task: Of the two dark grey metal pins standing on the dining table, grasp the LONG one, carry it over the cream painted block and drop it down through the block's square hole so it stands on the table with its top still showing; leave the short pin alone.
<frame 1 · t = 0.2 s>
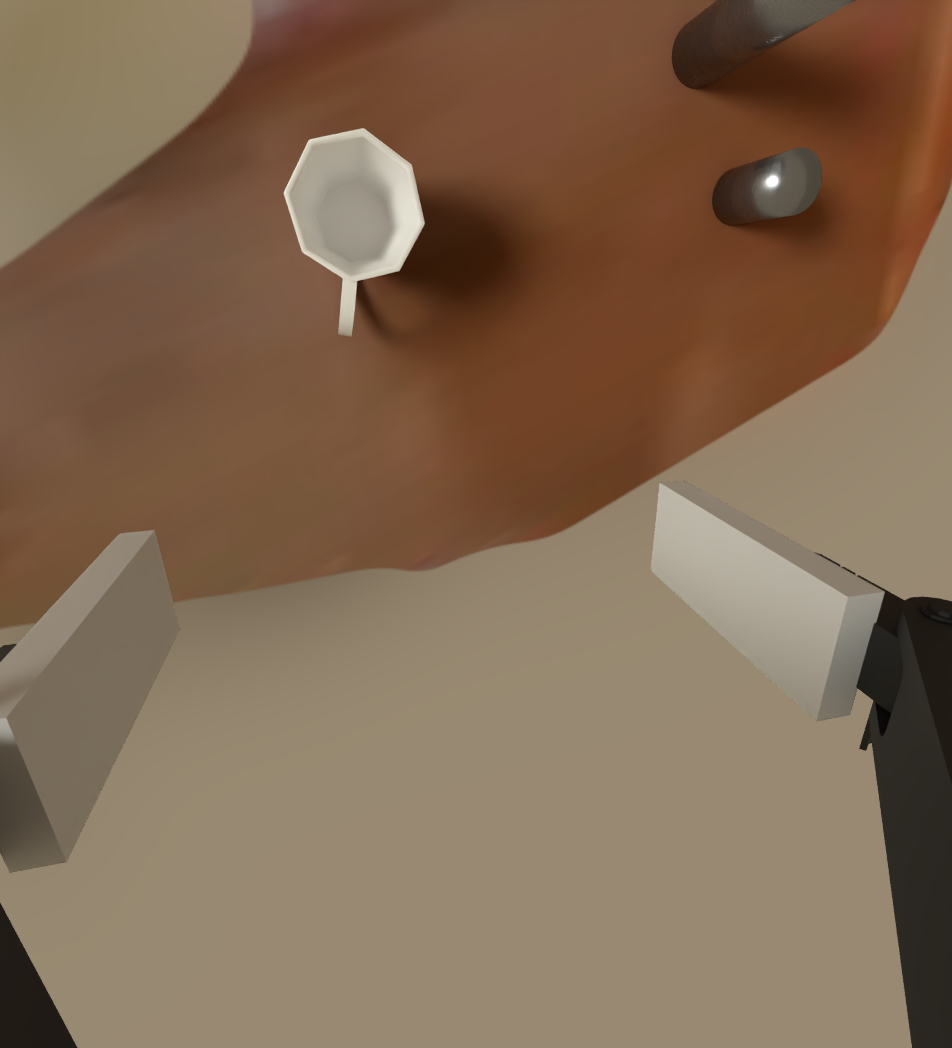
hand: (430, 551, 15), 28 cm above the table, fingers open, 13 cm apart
short pin: (735, 196, 41), on the table
long pin: (697, 54, 37), on the table
cup: (351, 250, 37), on the table
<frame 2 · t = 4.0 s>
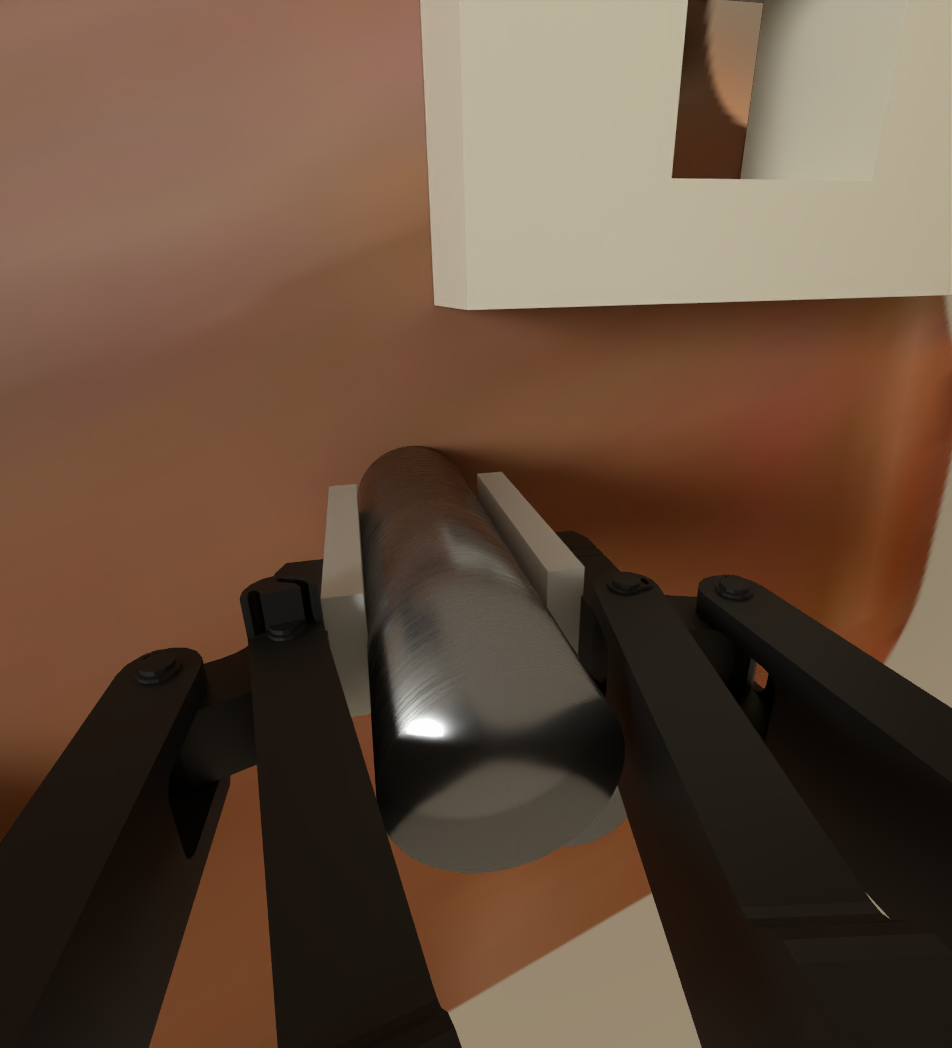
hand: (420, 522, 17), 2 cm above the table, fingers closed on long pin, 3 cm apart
short pin: (526, 680, 23), on the table
hole block: (670, 109, 16), on the table
long pin: (413, 499, 19), on the table, touching gripper
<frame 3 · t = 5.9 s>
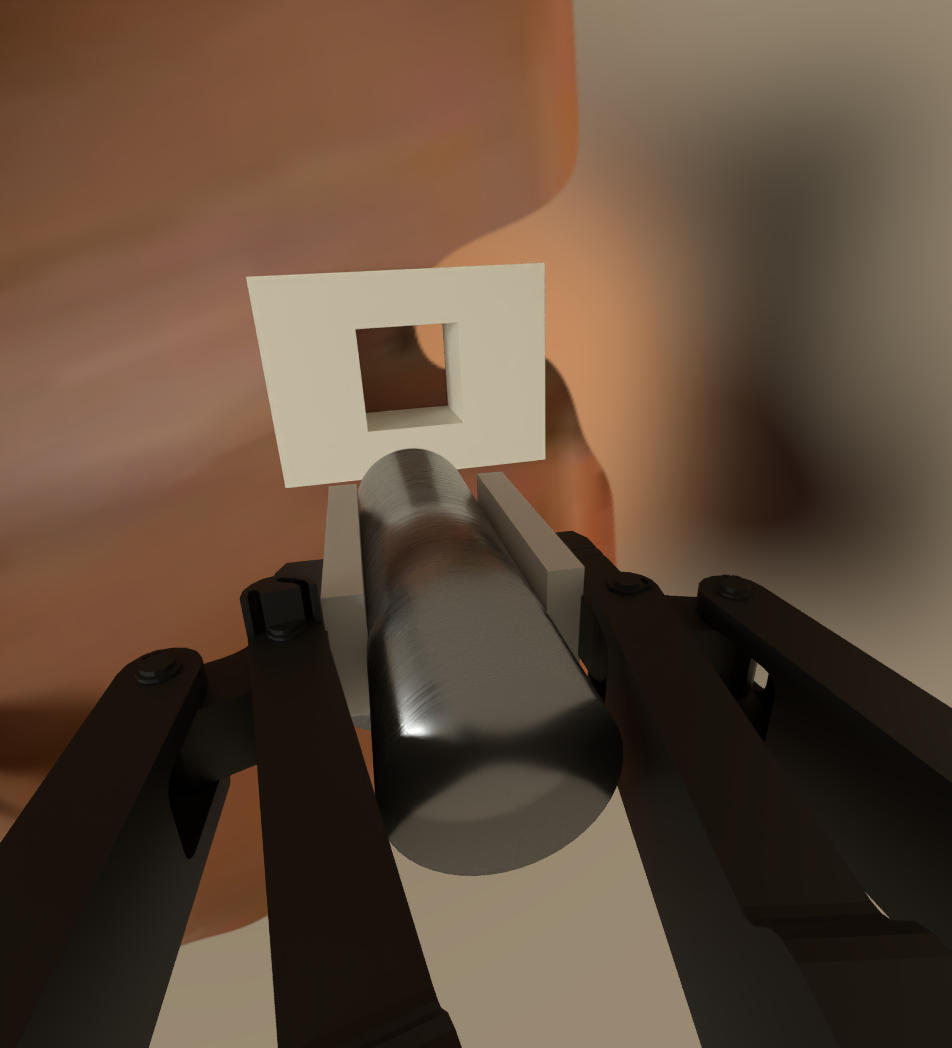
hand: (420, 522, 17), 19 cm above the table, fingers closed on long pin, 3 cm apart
hole block: (402, 366, 33), on the table
long pin: (412, 501, 19), point 17 cm above the table, touching gripper
when the fingers open (6 cm above the table, at t = 8.2 s): long pin drops 3 cm, resting in hole block.
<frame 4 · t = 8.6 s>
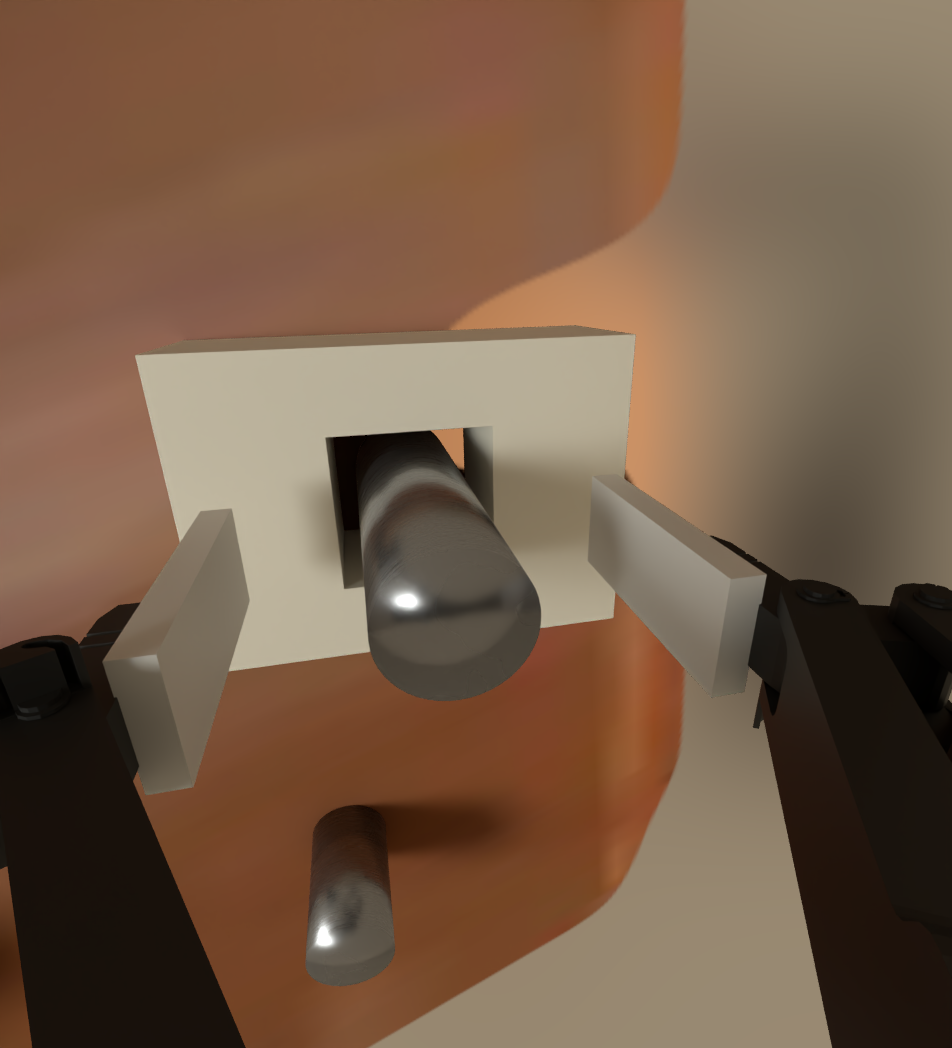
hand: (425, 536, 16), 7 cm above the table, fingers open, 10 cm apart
short pin: (349, 832, 29), on the table
hole block: (401, 465, 23), on the table
long pin: (402, 466, 23), resting in hole block
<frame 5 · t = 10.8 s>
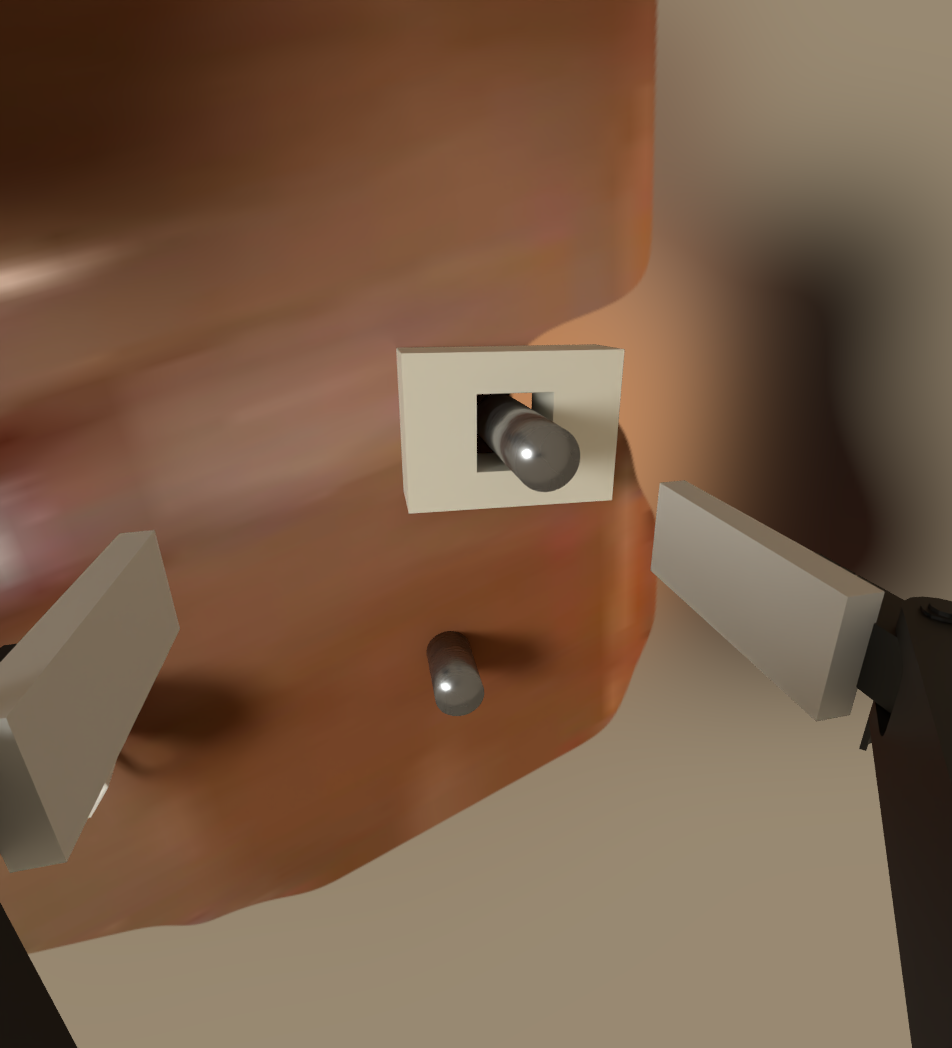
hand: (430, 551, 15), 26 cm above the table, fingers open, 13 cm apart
short pin: (448, 650, 47), on the table
hole block: (497, 418, 41), on the table
long pin: (497, 419, 41), resting in hole block
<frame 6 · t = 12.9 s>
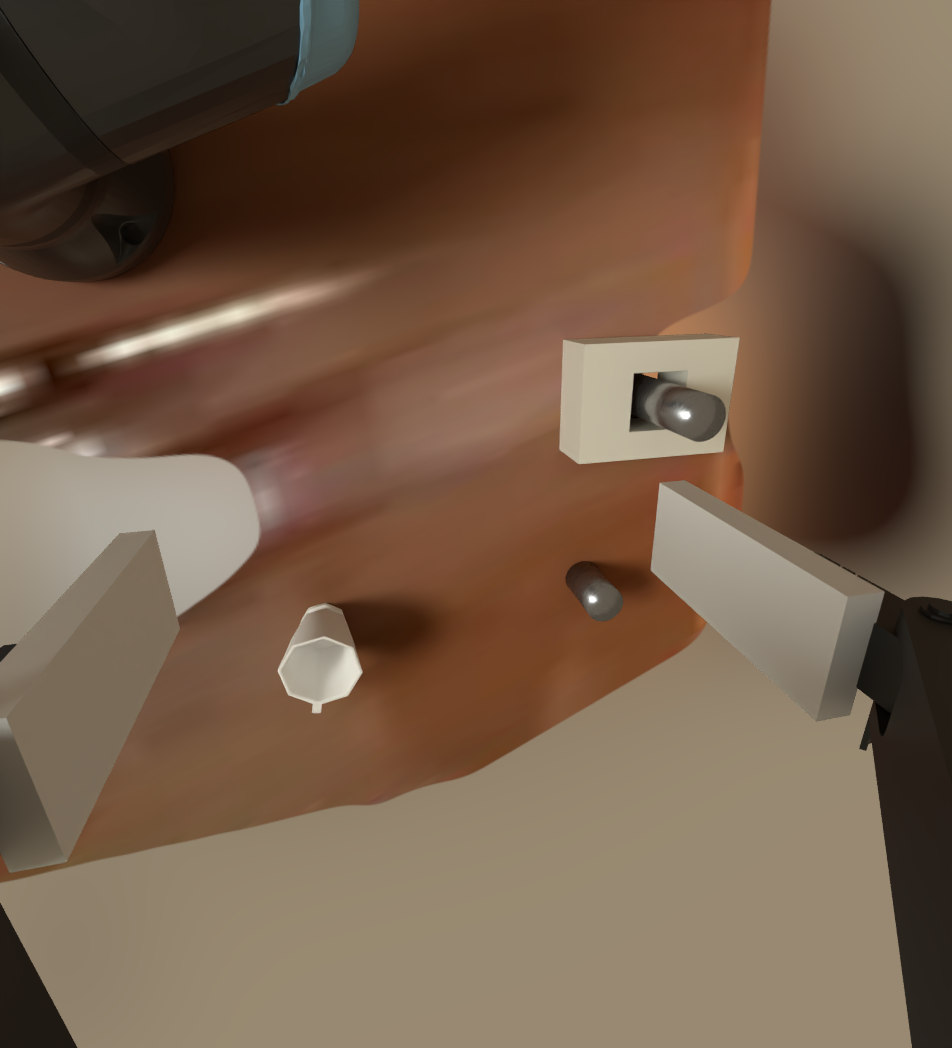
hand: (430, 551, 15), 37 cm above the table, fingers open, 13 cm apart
short pin: (582, 576, 61), on the table
hole block: (631, 392, 54), on the table
long pin: (631, 392, 54), resting in hole block
cup: (322, 634, 57), on the table
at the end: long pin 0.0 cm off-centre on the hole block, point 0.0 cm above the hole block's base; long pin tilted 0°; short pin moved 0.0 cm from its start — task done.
